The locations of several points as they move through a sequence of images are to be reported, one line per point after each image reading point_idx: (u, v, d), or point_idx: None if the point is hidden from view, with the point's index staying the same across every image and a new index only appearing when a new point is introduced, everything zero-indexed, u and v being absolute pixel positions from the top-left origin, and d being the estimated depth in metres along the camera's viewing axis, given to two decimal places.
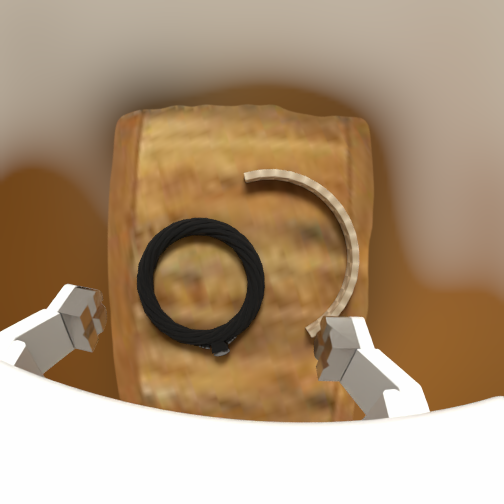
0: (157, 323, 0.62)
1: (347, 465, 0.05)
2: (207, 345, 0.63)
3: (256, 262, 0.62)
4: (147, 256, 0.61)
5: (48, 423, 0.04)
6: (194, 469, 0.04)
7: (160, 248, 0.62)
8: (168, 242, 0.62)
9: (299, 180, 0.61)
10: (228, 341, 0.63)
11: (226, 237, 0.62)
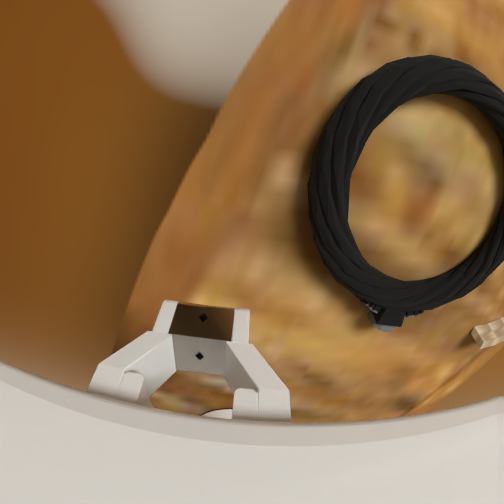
0: (327, 229, 0.26)
1: (347, 466, 0.05)
2: (378, 307, 0.30)
3: None
4: (405, 80, 0.19)
5: (48, 423, 0.04)
6: (194, 469, 0.04)
7: (434, 87, 0.19)
8: (452, 89, 0.19)
9: None
10: (410, 314, 0.31)
11: None
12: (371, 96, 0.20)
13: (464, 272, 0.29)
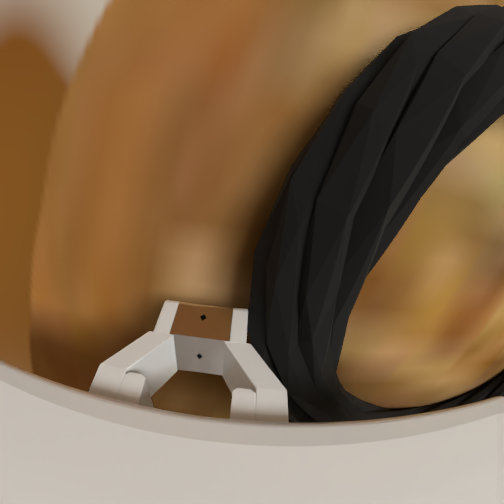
0: (288, 400, 0.11)
1: (347, 465, 0.05)
2: None
3: None
4: None
5: (48, 423, 0.04)
6: (194, 469, 0.04)
7: None
8: None
9: None
10: None
11: None
12: (434, 85, 0.05)
13: None
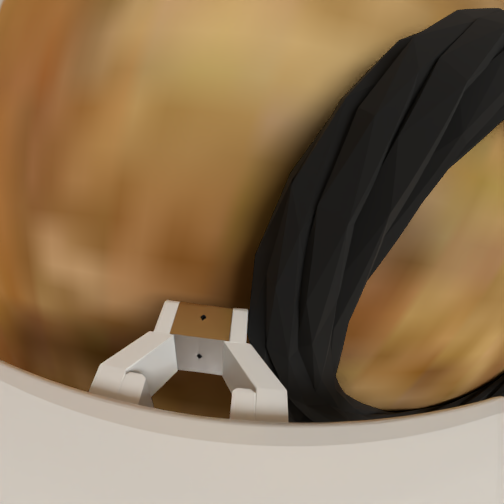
0: None
1: (347, 465, 0.05)
2: None
3: None
4: None
5: (48, 423, 0.04)
6: (194, 469, 0.04)
7: None
8: None
9: None
10: None
11: None
12: (437, 91, 0.05)
13: None
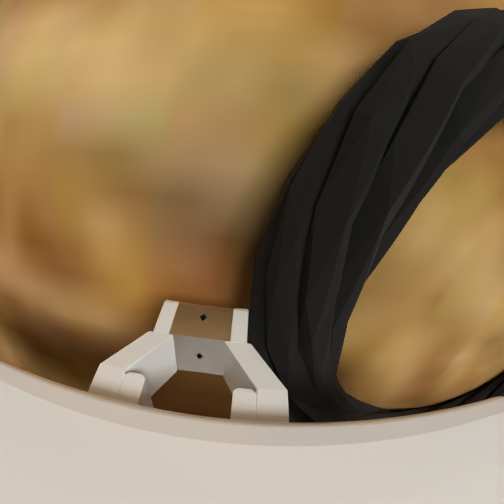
0: (288, 403, 0.11)
1: (347, 466, 0.05)
2: None
3: None
4: None
5: (48, 423, 0.04)
6: (194, 469, 0.04)
7: None
8: None
9: None
10: None
11: None
12: (433, 92, 0.05)
13: None
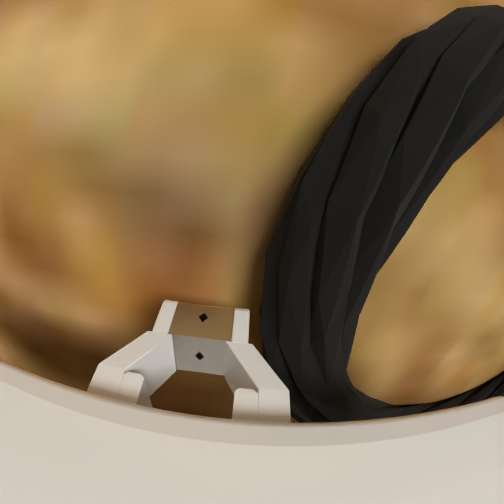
0: (299, 399, 0.11)
1: (347, 466, 0.05)
2: None
3: None
4: None
5: (48, 423, 0.04)
6: (194, 469, 0.04)
7: None
8: None
9: None
10: None
11: None
12: (440, 88, 0.05)
13: None
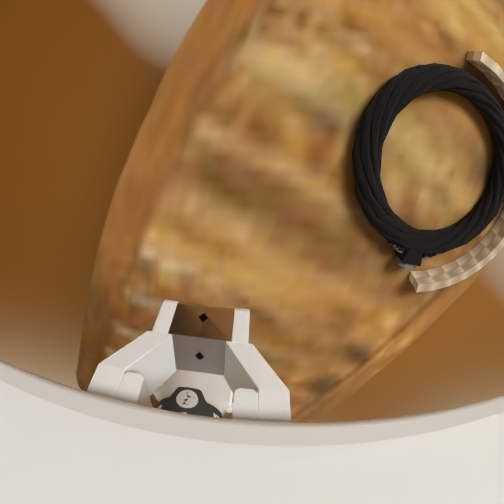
0: (367, 183, 0.34)
1: (347, 465, 0.05)
2: (403, 248, 0.39)
3: None
4: (417, 82, 0.27)
5: (48, 423, 0.04)
6: (194, 469, 0.04)
7: (437, 86, 0.27)
8: (450, 87, 0.27)
9: None
10: (426, 256, 0.40)
11: None
12: (395, 92, 0.28)
13: (465, 224, 0.37)
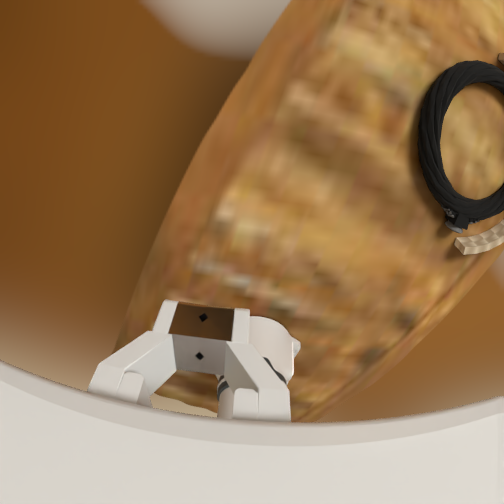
0: (431, 152, 0.36)
1: (347, 465, 0.05)
2: (454, 212, 0.41)
3: None
4: (468, 73, 0.29)
5: (48, 423, 0.04)
6: (194, 469, 0.04)
7: (481, 78, 0.29)
8: (489, 80, 0.29)
9: None
10: (471, 221, 0.41)
11: None
12: (452, 80, 0.30)
13: (499, 195, 0.39)
